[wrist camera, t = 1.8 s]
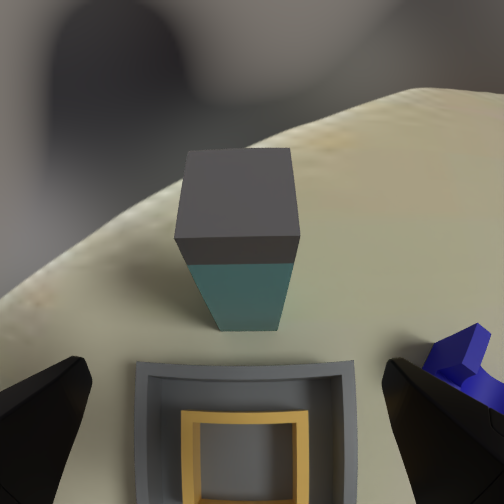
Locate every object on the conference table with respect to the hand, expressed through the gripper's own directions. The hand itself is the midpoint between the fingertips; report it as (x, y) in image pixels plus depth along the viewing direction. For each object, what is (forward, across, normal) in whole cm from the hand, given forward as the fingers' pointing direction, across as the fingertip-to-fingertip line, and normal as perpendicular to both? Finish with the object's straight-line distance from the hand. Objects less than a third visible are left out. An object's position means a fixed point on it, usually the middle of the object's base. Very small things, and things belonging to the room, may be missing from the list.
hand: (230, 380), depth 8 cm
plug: (+13, 0, +4) cm, 14 cm away
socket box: (+5, 0, +13) cm, 14 cm away
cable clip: (+7, -18, +12) cm, 22 cm away
